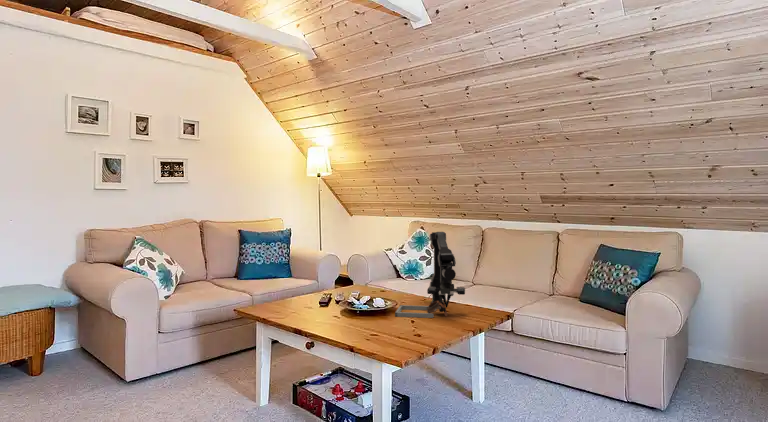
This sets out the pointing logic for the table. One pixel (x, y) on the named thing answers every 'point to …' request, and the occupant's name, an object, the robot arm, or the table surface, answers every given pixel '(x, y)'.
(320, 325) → the table surface
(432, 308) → the brown arched figure
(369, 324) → the table surface
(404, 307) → the grey u-shaped frame
